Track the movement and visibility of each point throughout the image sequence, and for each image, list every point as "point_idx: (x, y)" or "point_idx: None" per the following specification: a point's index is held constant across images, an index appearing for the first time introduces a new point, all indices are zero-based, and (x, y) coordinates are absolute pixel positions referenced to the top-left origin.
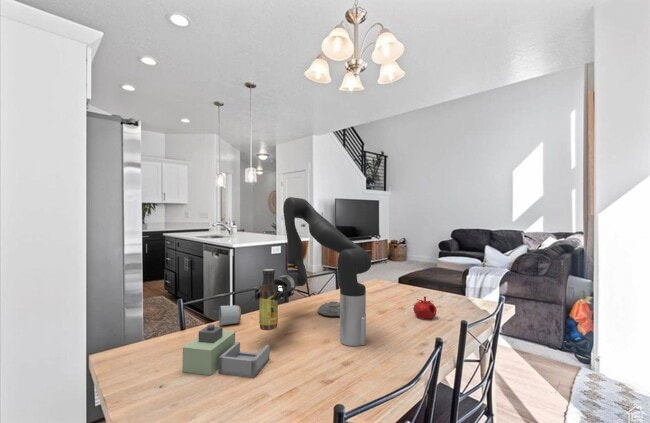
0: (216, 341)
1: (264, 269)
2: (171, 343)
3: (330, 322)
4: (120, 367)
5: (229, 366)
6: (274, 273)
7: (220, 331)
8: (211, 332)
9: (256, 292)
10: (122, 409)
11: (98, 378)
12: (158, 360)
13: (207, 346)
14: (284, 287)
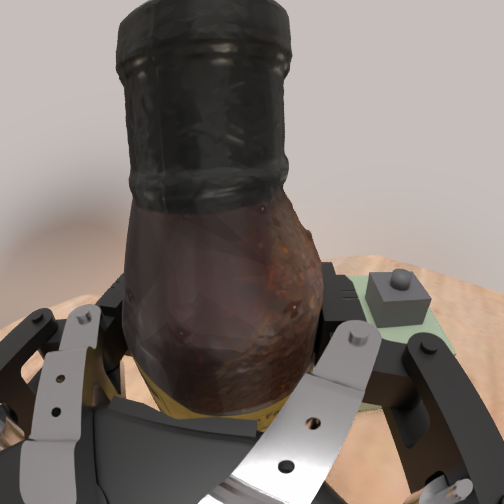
0: (366, 304)
1: (276, 7)
2: None
3: None
4: (485, 302)
5: None
6: (120, 78)
7: (378, 302)
8: (378, 273)
9: (399, 350)
10: (376, 260)
11: (471, 283)
12: (471, 331)
13: (363, 285)
14: (3, 485)
